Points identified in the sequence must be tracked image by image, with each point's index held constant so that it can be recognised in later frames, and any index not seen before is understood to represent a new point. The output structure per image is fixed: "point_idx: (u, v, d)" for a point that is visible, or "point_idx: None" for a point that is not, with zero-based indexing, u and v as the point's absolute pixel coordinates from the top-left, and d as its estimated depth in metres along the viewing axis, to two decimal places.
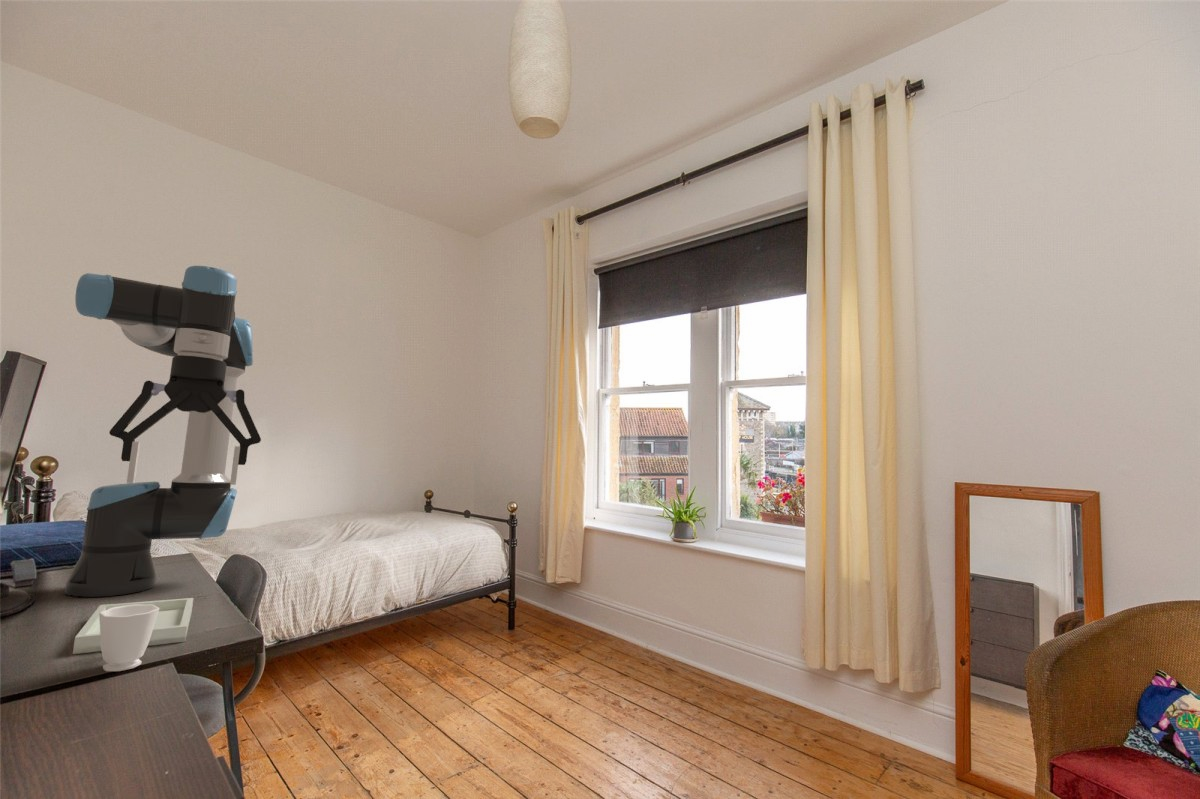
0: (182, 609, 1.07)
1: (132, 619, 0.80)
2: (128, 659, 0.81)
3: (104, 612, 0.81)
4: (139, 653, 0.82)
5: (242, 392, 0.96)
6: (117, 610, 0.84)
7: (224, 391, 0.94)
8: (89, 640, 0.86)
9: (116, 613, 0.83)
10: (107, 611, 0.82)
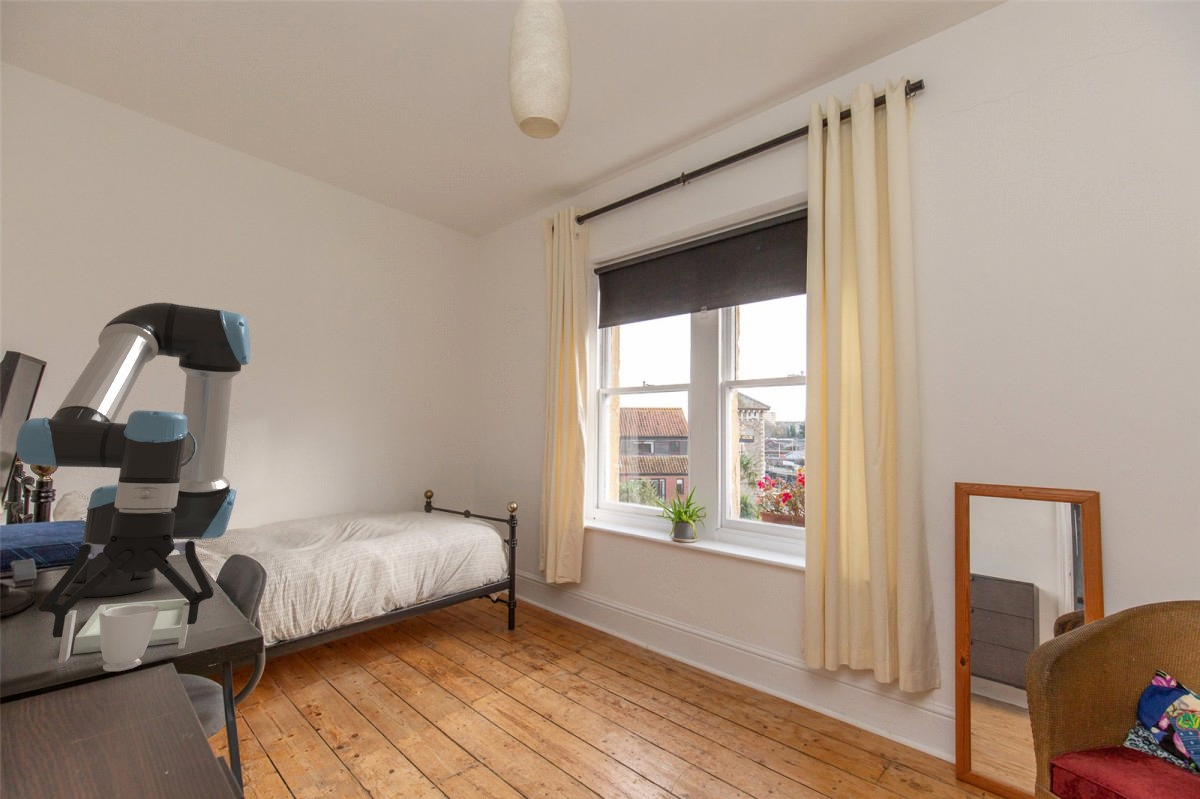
0: (182, 609, 1.07)
1: (132, 619, 0.80)
2: (128, 659, 0.81)
3: (104, 612, 0.81)
4: (139, 653, 0.82)
5: (192, 544, 0.87)
6: (117, 610, 0.84)
7: (172, 545, 0.86)
8: (89, 640, 0.86)
9: (116, 613, 0.83)
10: (107, 611, 0.82)
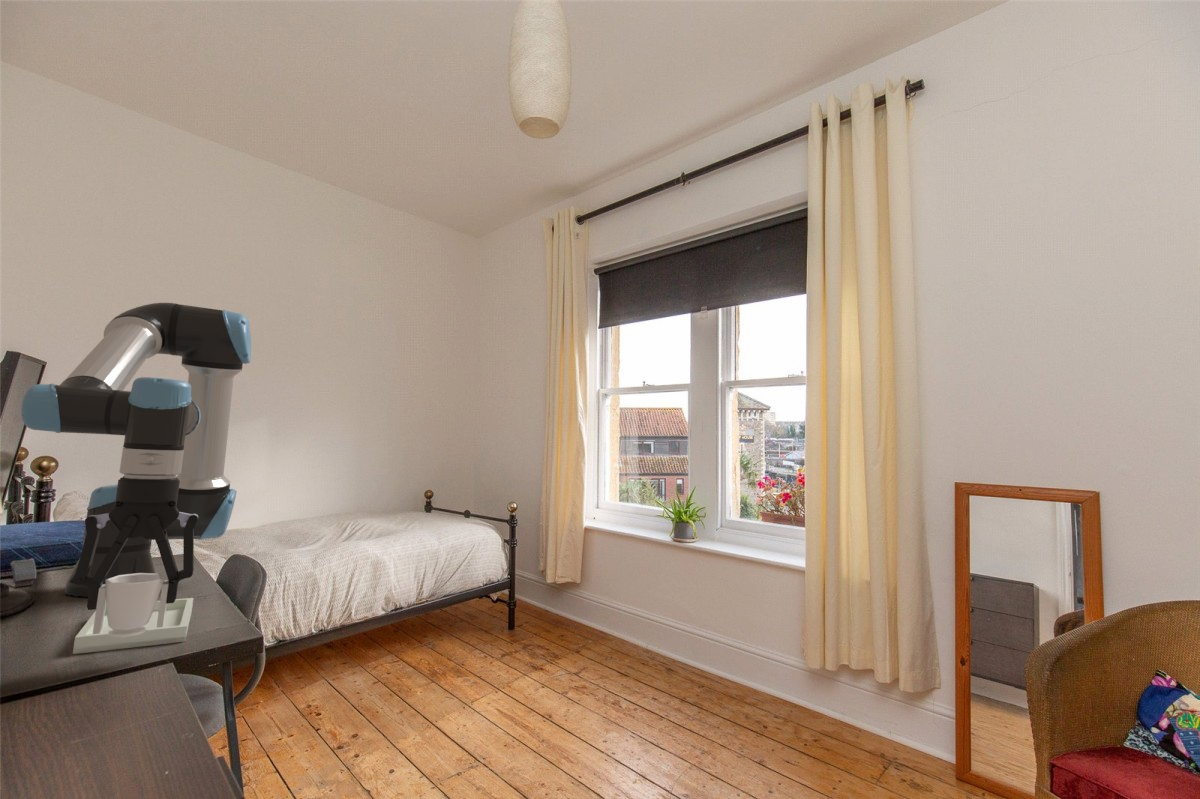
0: (182, 609, 1.07)
1: (137, 587, 0.81)
2: (133, 626, 0.82)
3: (110, 579, 0.82)
4: (144, 621, 0.83)
5: (195, 519, 0.88)
6: (123, 578, 0.85)
7: (177, 513, 0.87)
8: (89, 640, 0.86)
9: (121, 580, 0.84)
10: (113, 578, 0.83)
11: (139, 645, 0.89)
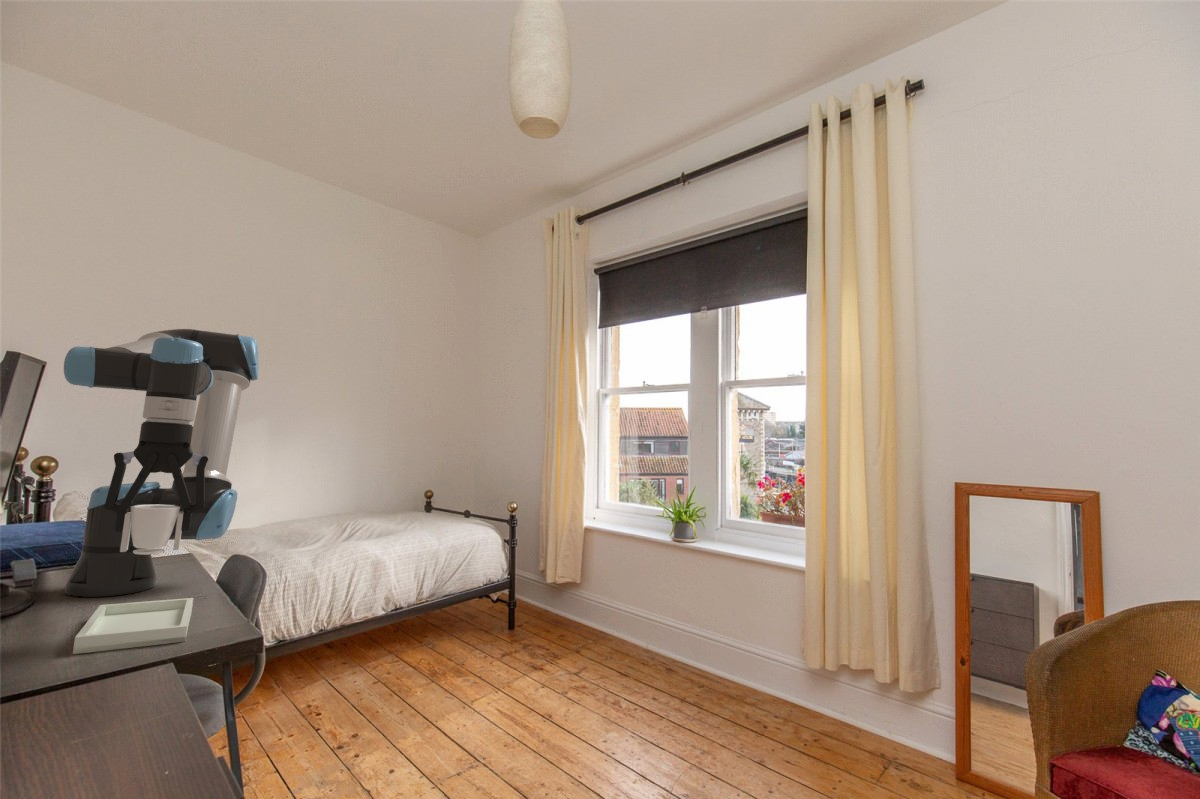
0: (182, 609, 1.07)
1: (158, 512, 0.96)
2: (154, 545, 0.96)
3: (134, 506, 0.97)
4: (163, 542, 0.97)
5: (206, 459, 1.03)
6: (145, 507, 0.99)
7: (190, 454, 1.02)
8: (89, 640, 0.86)
9: None
10: (137, 506, 0.98)
11: (139, 645, 0.89)
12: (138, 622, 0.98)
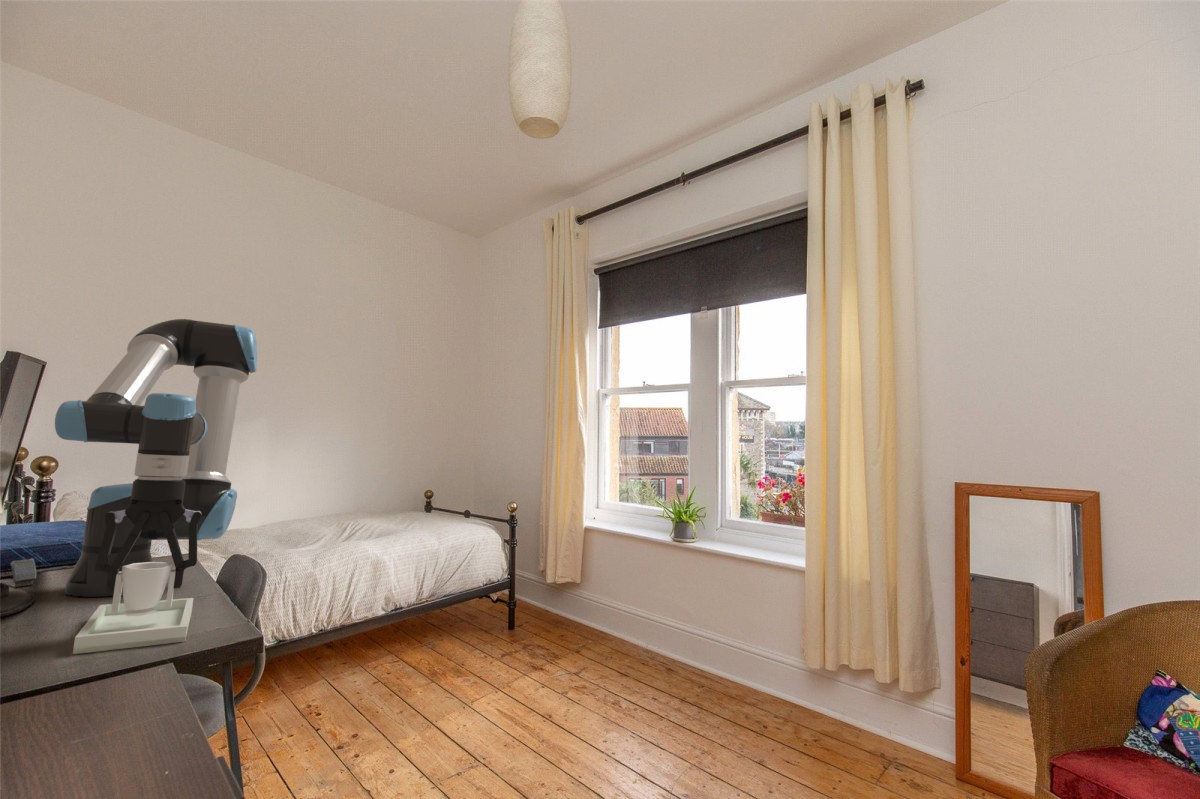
0: (182, 609, 1.07)
1: (149, 572, 0.95)
2: (145, 606, 0.95)
3: (126, 566, 0.96)
4: (155, 602, 0.96)
5: (199, 515, 1.02)
6: (136, 566, 0.98)
7: (183, 510, 1.01)
8: (89, 640, 0.86)
9: (135, 568, 0.98)
10: (128, 566, 0.97)
11: (139, 645, 0.89)
12: (138, 622, 0.98)
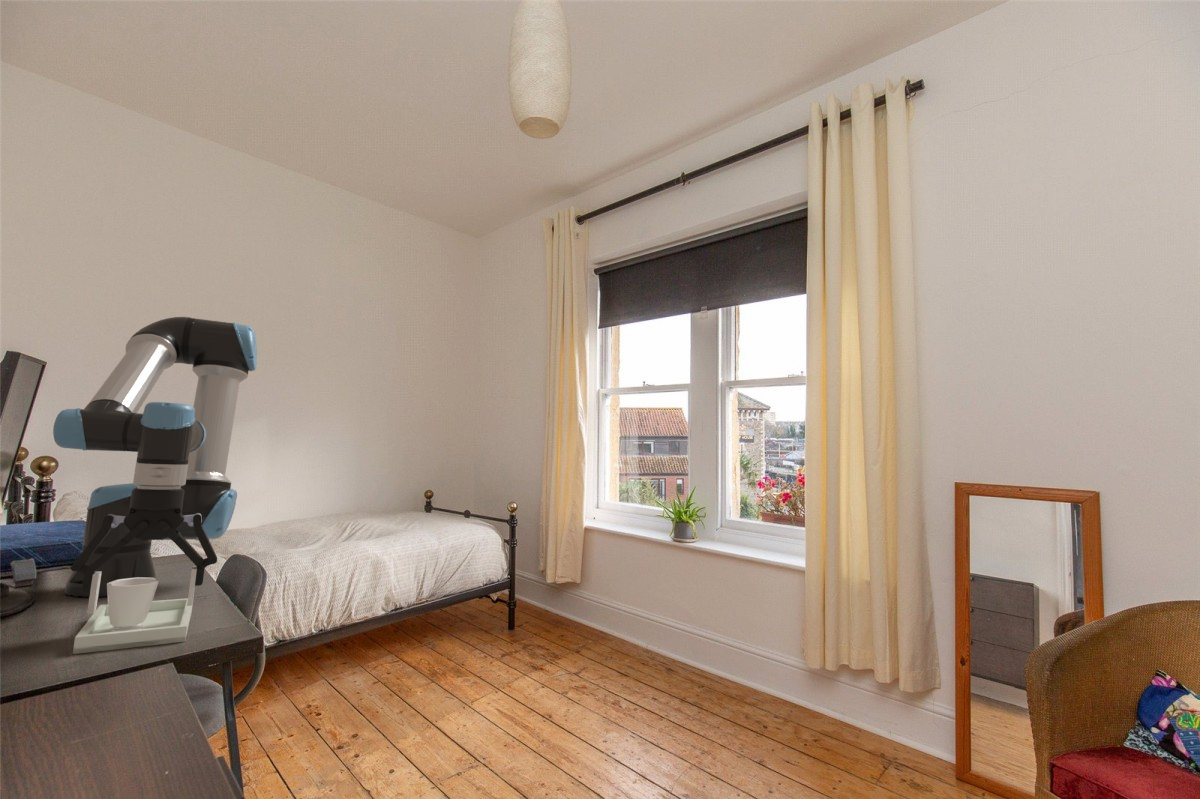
0: (182, 609, 1.07)
1: (134, 589, 0.93)
2: (131, 623, 0.94)
3: (111, 583, 0.94)
4: (141, 618, 0.95)
5: (199, 517, 1.02)
6: (122, 582, 0.96)
7: (181, 517, 1.01)
8: (89, 640, 0.86)
9: (121, 584, 0.96)
10: (113, 582, 0.95)
11: (139, 645, 0.89)
12: None
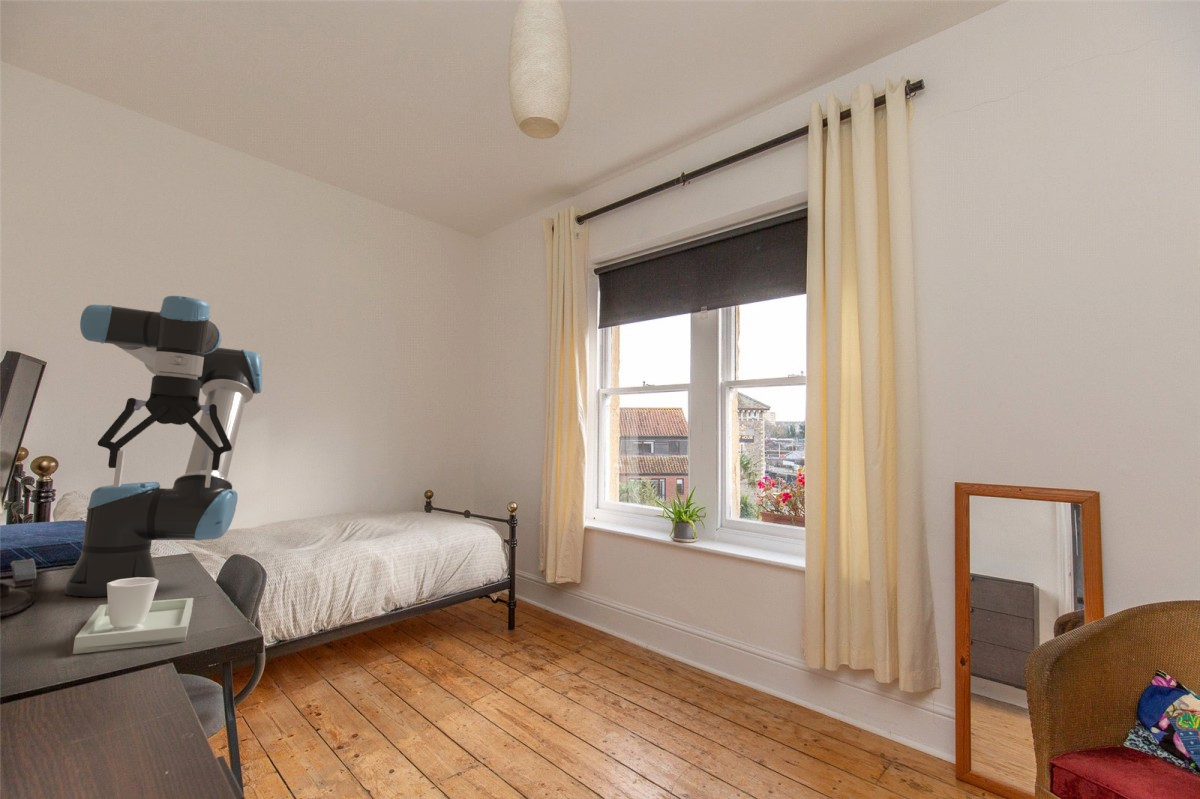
0: (182, 609, 1.07)
1: (134, 589, 0.93)
2: (131, 623, 0.94)
3: (111, 583, 0.94)
4: (141, 618, 0.95)
5: (215, 406, 1.09)
6: (122, 582, 0.96)
7: (198, 406, 1.08)
8: (89, 640, 0.86)
9: (121, 584, 0.96)
10: (114, 582, 0.95)
11: (139, 645, 0.89)
12: None
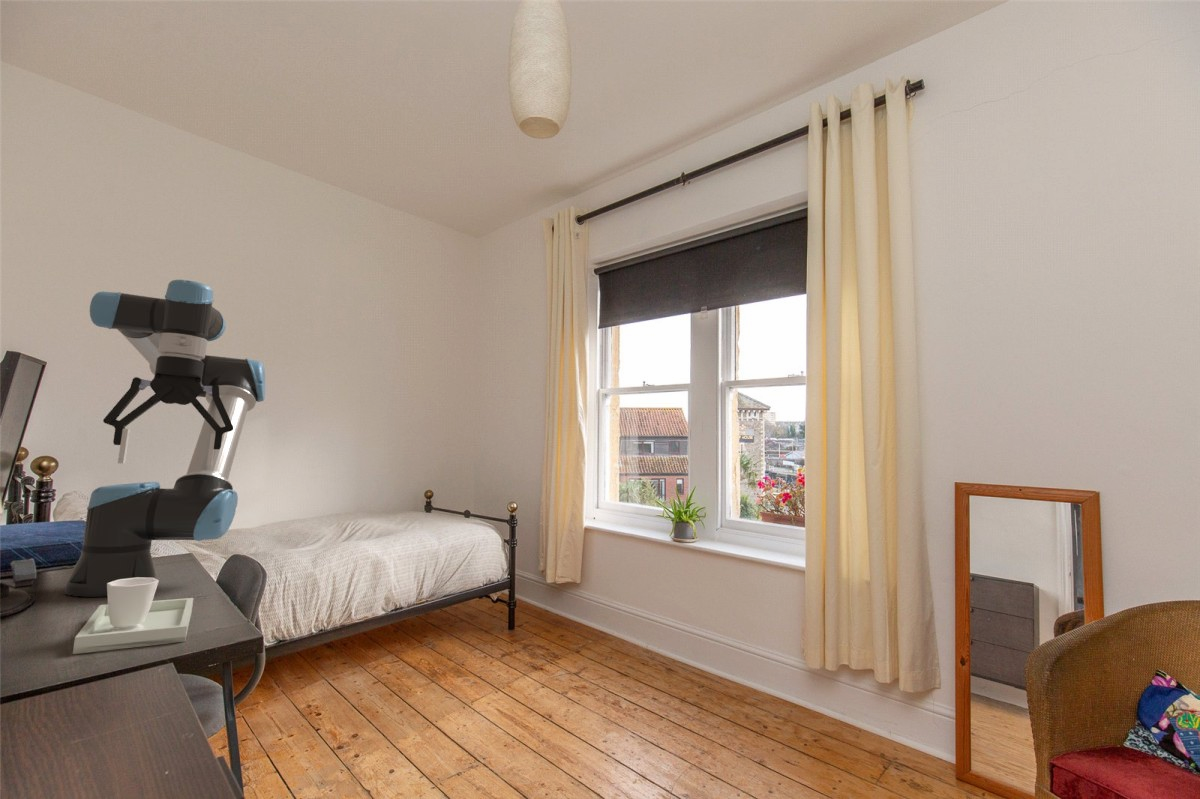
0: (182, 609, 1.07)
1: (134, 589, 0.93)
2: (131, 623, 0.94)
3: (111, 583, 0.94)
4: (141, 618, 0.95)
5: (217, 387, 1.12)
6: (122, 582, 0.96)
7: (201, 386, 1.11)
8: (89, 640, 0.86)
9: (121, 584, 0.96)
10: (114, 582, 0.95)
11: (139, 645, 0.89)
12: None
